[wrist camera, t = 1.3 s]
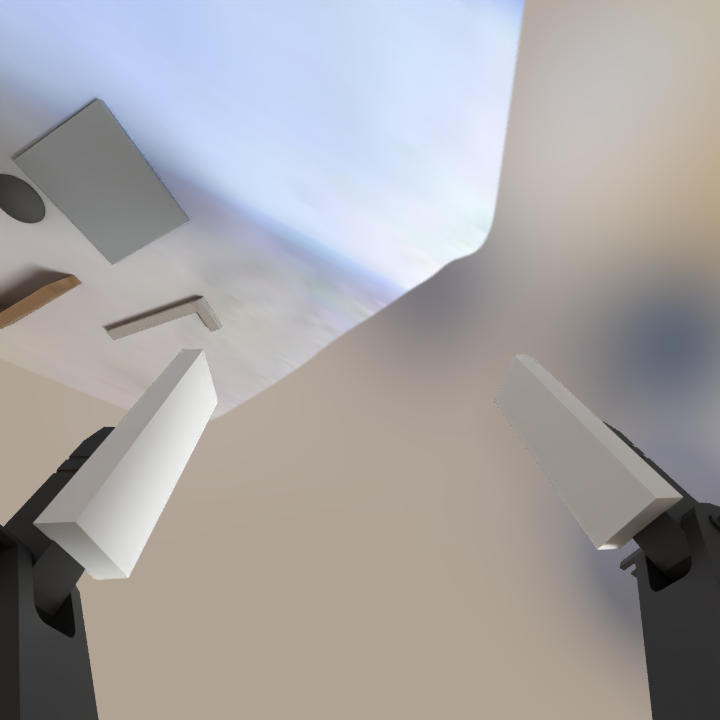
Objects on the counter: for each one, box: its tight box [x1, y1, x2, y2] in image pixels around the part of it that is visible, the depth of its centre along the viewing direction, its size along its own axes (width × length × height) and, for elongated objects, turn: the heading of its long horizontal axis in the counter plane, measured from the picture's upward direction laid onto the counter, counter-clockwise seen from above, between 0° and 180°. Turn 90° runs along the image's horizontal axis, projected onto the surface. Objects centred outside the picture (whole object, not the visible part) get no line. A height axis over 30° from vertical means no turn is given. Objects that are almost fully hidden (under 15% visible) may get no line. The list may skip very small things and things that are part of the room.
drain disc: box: [0, 175, 45, 223], centre depth 27 cm, size 4×4×1 cm
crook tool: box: [107, 297, 222, 340], centre depth 35 cm, size 4×13×1 cm, turn 107°
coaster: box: [13, 99, 189, 265], centre depth 27 cm, size 10×10×1 cm
